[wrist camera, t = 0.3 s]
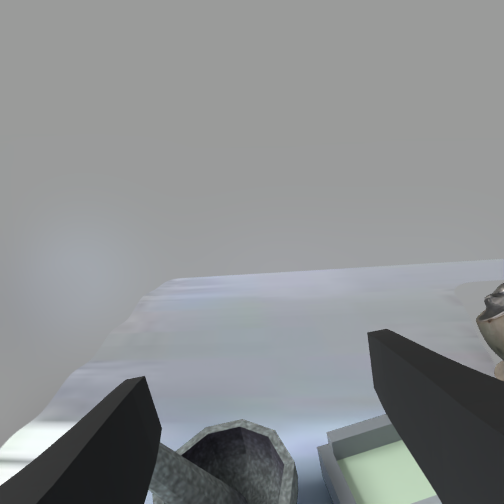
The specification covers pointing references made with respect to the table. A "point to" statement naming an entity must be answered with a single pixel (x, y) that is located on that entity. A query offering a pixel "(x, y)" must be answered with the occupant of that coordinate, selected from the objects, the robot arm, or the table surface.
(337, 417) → the table surface
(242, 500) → the mortar and pestle
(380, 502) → the trap lane
